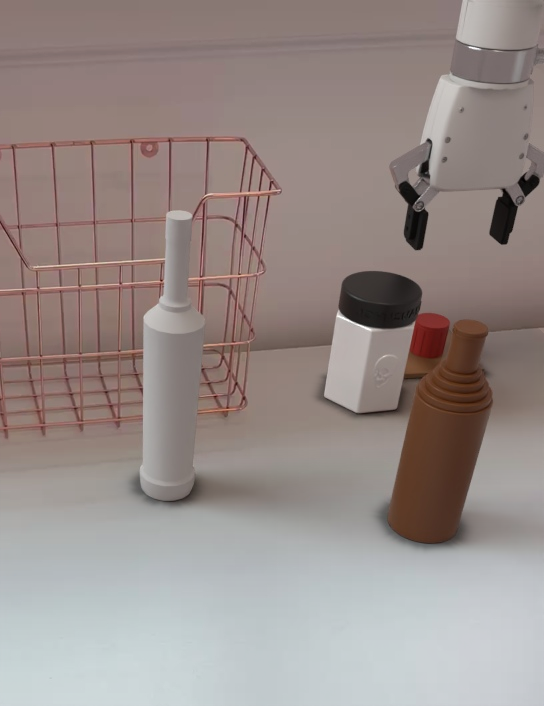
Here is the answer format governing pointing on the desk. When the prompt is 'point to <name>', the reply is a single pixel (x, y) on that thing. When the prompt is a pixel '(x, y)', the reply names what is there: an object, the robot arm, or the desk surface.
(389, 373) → the jar
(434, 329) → the cap
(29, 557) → the desk surface
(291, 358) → the desk surface
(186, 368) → the bottle
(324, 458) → the desk surface
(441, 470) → the bottle
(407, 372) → the coaster
